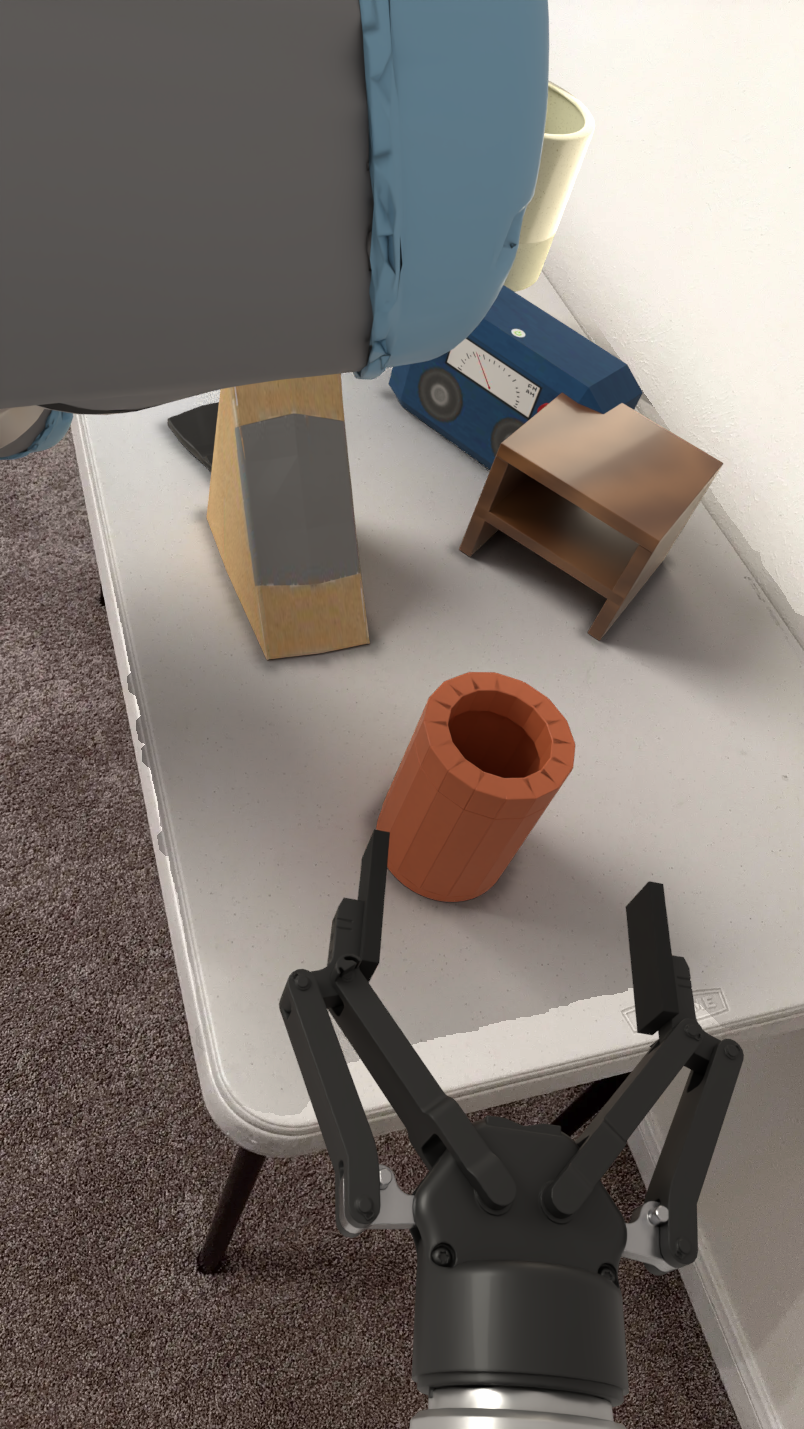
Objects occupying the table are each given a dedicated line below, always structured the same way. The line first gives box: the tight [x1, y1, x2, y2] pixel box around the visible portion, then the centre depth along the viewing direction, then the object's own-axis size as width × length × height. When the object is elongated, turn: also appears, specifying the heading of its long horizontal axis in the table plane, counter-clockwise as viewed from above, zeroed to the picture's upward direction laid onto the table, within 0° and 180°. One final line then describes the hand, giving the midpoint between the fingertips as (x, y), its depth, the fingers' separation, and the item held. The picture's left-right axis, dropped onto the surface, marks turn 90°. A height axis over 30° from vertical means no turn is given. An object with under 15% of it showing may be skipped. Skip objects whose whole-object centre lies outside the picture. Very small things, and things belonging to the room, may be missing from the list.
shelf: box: [458, 393, 724, 641], centre depth 81 cm, size 14×14×11 cm
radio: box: [388, 285, 643, 471], centre depth 85 cm, size 21×9×20 cm, turn 50°
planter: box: [504, 79, 596, 293], centre depth 94 cm, size 15×16×23 cm
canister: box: [375, 671, 576, 903], centre depth 59 cm, size 9×9×12 cm
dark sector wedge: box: [166, 401, 219, 473], centre depth 84 cm, size 8×14×2 cm, turn 129°
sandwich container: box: [205, 373, 371, 661], centre depth 69 cm, size 9×15×15 cm, turn 24°
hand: (512, 870), depth 47 cm, fingers open, 13 cm apart
